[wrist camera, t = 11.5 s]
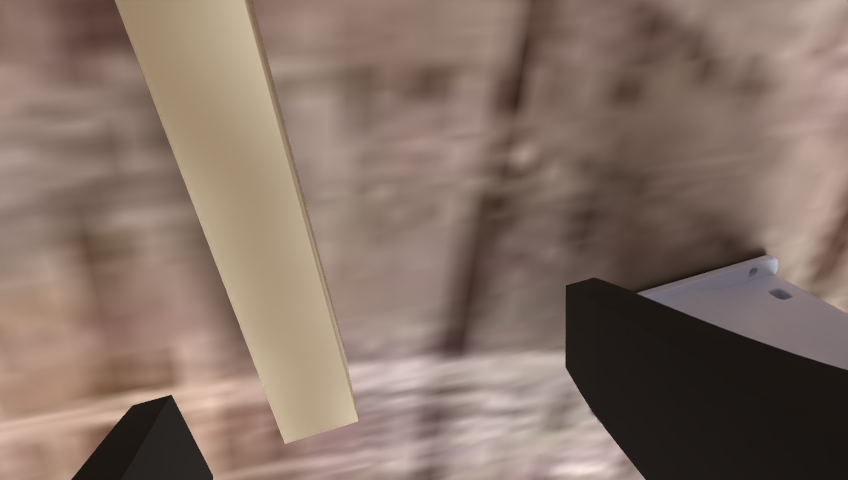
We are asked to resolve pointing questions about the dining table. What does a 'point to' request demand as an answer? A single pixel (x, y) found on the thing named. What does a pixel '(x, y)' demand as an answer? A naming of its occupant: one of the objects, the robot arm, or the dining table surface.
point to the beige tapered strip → (247, 198)
